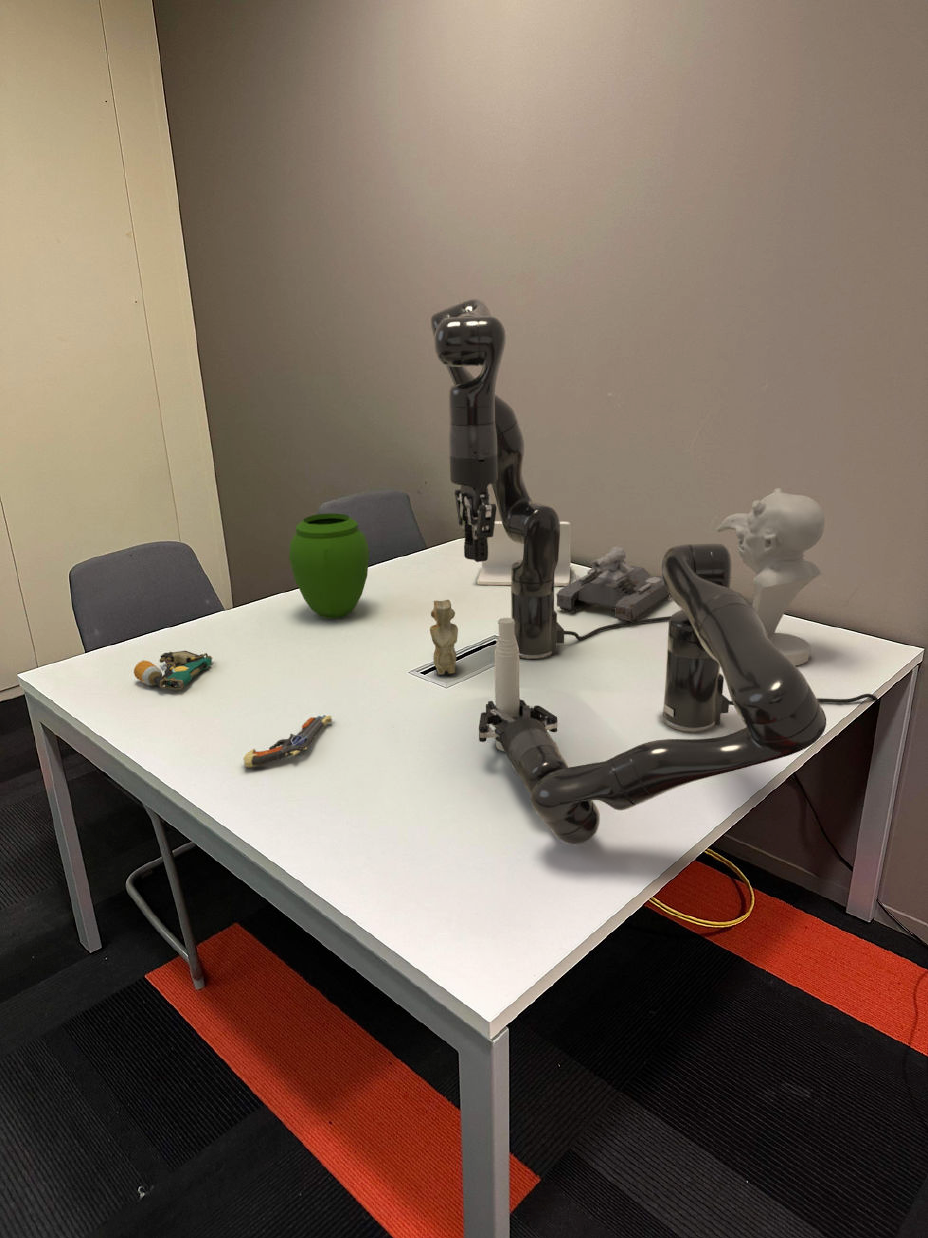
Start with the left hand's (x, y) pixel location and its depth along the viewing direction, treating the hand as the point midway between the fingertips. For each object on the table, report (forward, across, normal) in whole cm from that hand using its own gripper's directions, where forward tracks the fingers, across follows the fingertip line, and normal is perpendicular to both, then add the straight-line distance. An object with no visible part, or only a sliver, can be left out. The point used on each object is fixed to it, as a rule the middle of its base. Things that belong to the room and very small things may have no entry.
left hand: (476, 556), depth 140 cm
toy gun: (+34, -10, -32) cm, 48 cm away
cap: (-2, 0, 0) cm, 2 cm away
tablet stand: (+34, -84, +43) cm, 101 cm away
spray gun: (+34, -49, -51) cm, 78 cm away
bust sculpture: (+34, -14, +69) cm, 78 cm away
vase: (+34, -74, -13) cm, 82 cm away
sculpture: (+34, -30, +3) cm, 46 cm away
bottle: (+34, +4, +3) cm, 34 cm away
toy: (+34, -53, +55) cm, 83 cm away
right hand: (+27, +1, +4) cm, 27 cm away
